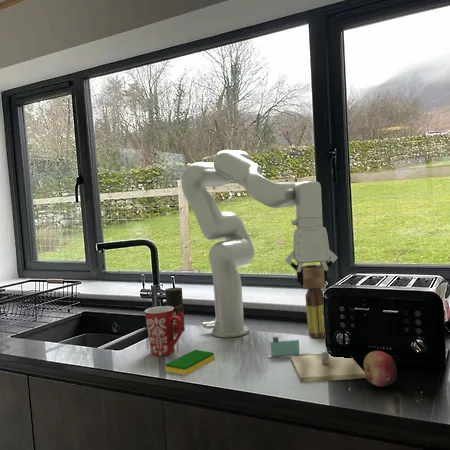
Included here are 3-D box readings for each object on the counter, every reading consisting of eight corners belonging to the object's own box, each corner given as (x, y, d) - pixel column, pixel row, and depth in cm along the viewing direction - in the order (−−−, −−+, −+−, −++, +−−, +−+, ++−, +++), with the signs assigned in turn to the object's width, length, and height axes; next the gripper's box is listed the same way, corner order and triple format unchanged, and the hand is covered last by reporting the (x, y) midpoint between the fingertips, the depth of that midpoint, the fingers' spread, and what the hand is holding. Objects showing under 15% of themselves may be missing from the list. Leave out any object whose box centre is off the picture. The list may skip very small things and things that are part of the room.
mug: (141, 355, 149) (138, 311, 148) (160, 346, 156) (157, 305, 156) (173, 360, 142) (170, 314, 141) (192, 351, 150) (189, 307, 149)
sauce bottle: (326, 332, 160) (323, 272, 159) (329, 338, 154) (326, 276, 153) (306, 333, 161) (303, 273, 160) (308, 338, 155) (304, 276, 154)
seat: (276, 383, 120) (275, 367, 119) (267, 356, 141) (266, 341, 140) (365, 378, 120) (364, 361, 120) (343, 351, 141) (342, 336, 141)
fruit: (365, 378, 120) (364, 346, 119) (398, 380, 117) (397, 348, 116) (361, 390, 113) (360, 356, 112) (396, 393, 110) (395, 358, 109)
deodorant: (169, 333, 171) (166, 291, 170) (167, 329, 177) (164, 288, 176) (185, 331, 172) (183, 289, 171) (183, 327, 178) (180, 286, 177)
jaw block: (304, 288, 142) (303, 268, 141) (300, 285, 148) (299, 265, 147) (324, 287, 142) (323, 267, 141) (320, 283, 148) (319, 264, 147)
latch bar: (271, 356, 139) (270, 338, 138) (271, 354, 140) (270, 336, 140) (299, 354, 139) (298, 336, 139) (298, 352, 140) (297, 334, 140)
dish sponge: (165, 372, 134) (164, 364, 133) (195, 357, 145) (195, 349, 145) (185, 376, 130) (185, 367, 129) (215, 360, 141) (214, 352, 141)
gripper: (282, 226, 140) (285, 288, 141) (342, 222, 140) (344, 284, 141) (278, 224, 147) (281, 283, 148) (335, 221, 147) (338, 280, 148)
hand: (312, 283), depth 145 cm, fingers closed on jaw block, 6 cm apart
